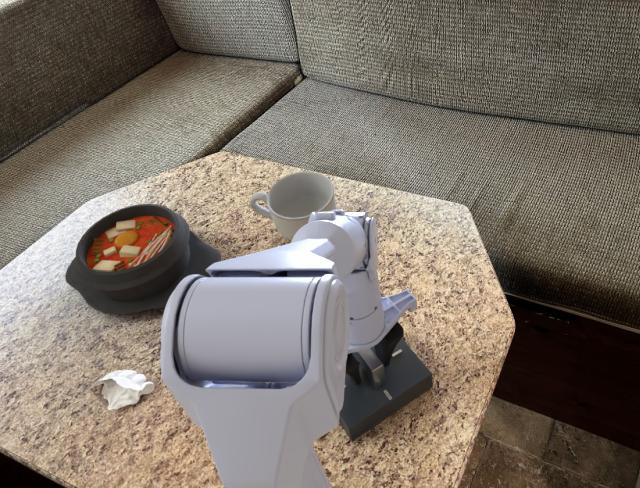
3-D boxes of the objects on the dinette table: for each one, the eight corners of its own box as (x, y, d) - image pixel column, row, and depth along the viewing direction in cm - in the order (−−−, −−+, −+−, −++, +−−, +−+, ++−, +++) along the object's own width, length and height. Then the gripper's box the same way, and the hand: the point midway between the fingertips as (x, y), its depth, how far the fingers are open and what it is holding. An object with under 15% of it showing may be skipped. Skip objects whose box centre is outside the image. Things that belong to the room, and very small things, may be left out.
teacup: (350, 211, 103) (343, 174, 98) (327, 257, 95) (318, 220, 90) (275, 201, 106) (265, 165, 101) (247, 244, 99) (235, 208, 93)
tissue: (115, 365, 83) (104, 349, 80) (159, 385, 80) (149, 368, 77) (84, 399, 79) (71, 383, 77) (129, 422, 76) (117, 406, 74)
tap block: (352, 441, 72) (348, 428, 70) (312, 381, 78) (308, 368, 76) (433, 386, 76) (432, 372, 74) (389, 334, 83) (387, 320, 81)
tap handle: (386, 383, 74) (383, 363, 71) (375, 390, 73) (371, 370, 71) (363, 352, 78) (359, 332, 75) (352, 358, 77) (348, 338, 74)
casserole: (245, 245, 98) (232, 207, 93) (181, 338, 85) (162, 300, 80) (119, 222, 106) (100, 185, 100) (42, 304, 92) (15, 267, 87)
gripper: (390, 248, 72) (399, 319, 81) (279, 308, 66) (302, 377, 75) (425, 284, 67) (430, 356, 76) (309, 352, 62) (330, 420, 70)
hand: (369, 369), depth 75 cm, fingers open, 3 cm apart
